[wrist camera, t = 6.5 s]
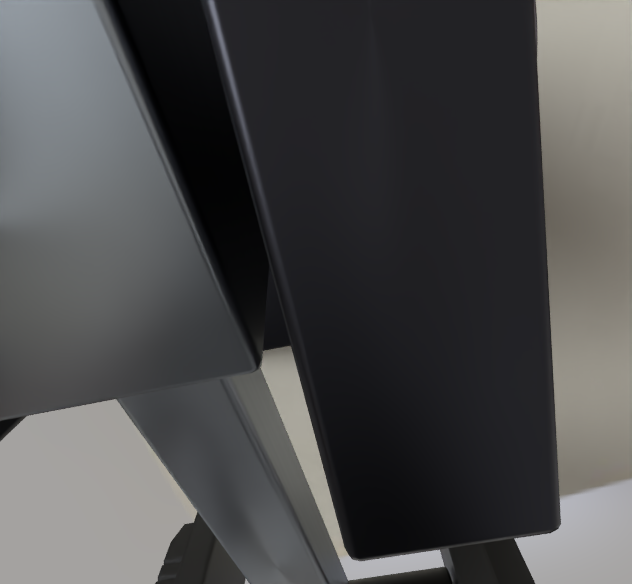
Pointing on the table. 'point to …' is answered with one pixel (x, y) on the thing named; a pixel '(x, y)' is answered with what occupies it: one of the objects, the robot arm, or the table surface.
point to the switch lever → (148, 267)
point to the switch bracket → (404, 254)
